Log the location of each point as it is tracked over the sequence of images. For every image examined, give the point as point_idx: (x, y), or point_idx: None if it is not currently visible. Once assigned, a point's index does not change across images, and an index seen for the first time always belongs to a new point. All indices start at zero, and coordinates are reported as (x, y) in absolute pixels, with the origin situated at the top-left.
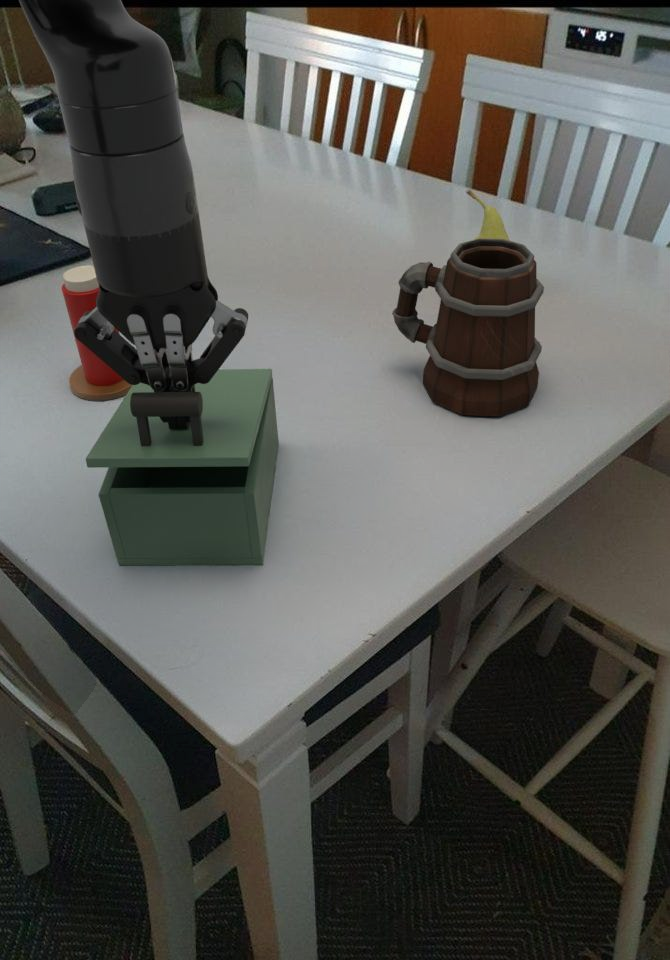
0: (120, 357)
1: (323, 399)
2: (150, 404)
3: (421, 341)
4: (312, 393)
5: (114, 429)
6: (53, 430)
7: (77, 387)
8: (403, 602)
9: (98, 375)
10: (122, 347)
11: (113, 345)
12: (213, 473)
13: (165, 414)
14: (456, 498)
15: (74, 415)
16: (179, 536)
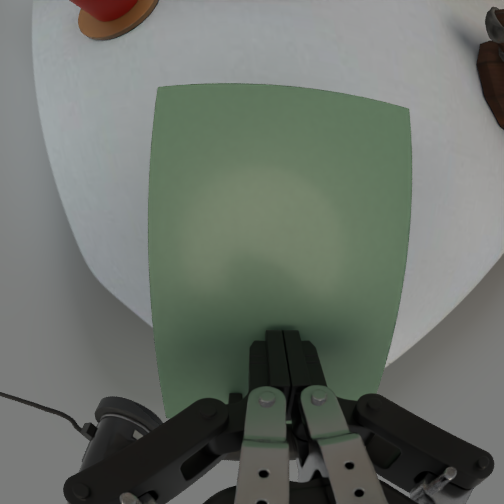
0: (191, 484)
1: (394, 49)
2: None
3: (499, 46)
4: (381, 35)
5: (171, 350)
6: (73, 98)
7: (86, 30)
8: (415, 340)
9: (104, 15)
10: (181, 473)
11: (169, 491)
12: None
13: None
14: (478, 236)
15: (89, 68)
16: None
